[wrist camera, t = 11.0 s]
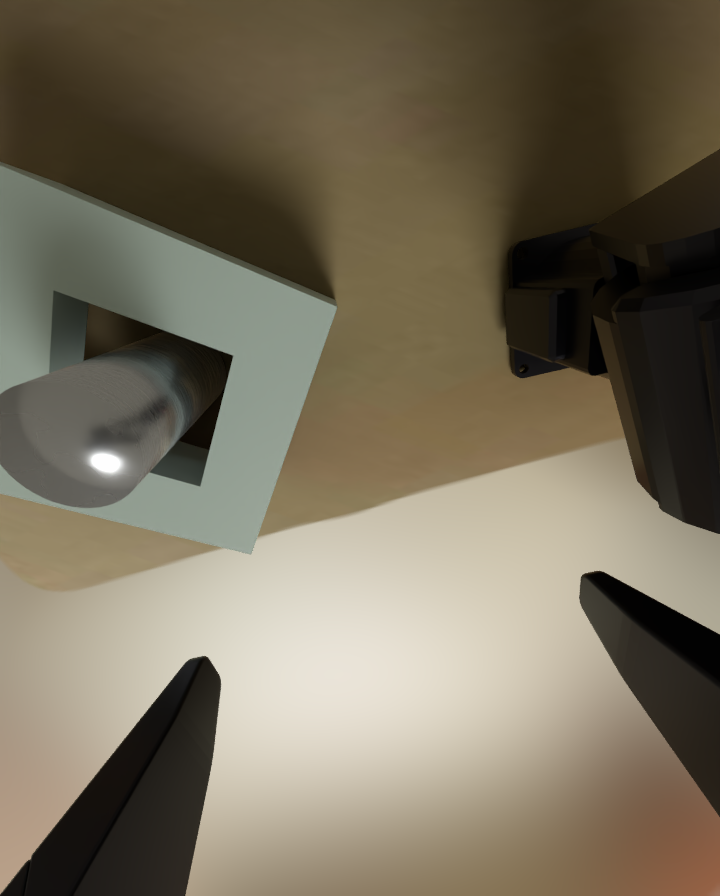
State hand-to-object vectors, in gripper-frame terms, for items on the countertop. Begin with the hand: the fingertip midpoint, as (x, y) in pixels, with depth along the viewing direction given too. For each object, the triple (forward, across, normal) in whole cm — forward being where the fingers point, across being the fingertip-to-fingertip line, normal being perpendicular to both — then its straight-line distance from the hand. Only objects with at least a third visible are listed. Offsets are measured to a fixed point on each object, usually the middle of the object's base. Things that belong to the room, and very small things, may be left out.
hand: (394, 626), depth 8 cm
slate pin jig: (+13, +8, -5) cm, 16 cm away
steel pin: (+13, +8, -5) cm, 16 cm away
